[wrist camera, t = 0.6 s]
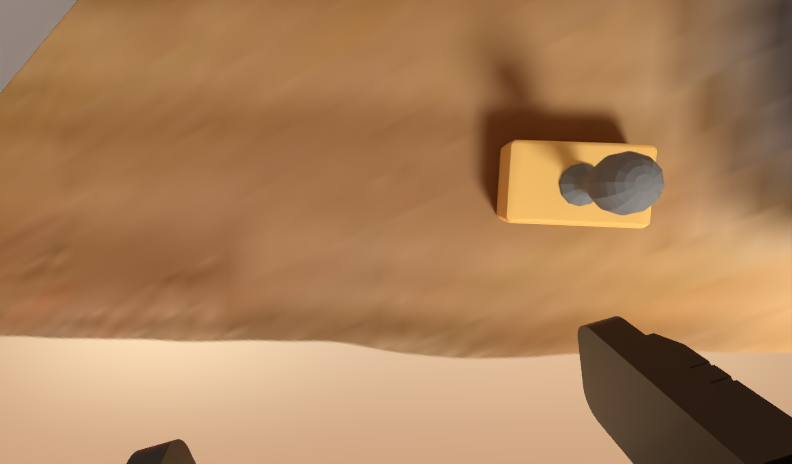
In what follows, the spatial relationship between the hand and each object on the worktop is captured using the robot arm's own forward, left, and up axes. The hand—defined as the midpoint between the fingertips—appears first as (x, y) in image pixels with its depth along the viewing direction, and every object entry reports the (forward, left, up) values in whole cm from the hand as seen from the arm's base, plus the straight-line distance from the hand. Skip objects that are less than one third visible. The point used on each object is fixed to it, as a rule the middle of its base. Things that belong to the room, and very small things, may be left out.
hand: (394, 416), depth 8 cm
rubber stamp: (-4, +12, -26) cm, 29 cm away
